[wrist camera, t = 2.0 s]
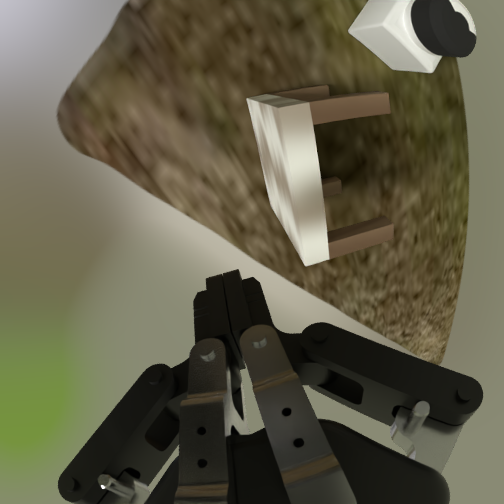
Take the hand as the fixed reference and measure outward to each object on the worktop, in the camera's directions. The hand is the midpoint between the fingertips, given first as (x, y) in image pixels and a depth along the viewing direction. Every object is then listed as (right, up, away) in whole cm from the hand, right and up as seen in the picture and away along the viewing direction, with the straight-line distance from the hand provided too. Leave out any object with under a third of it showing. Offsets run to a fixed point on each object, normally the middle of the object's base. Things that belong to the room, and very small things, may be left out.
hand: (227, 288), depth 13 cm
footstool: (+6, +13, +17) cm, 22 cm away
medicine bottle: (+16, +26, +11) cm, 32 cm away
